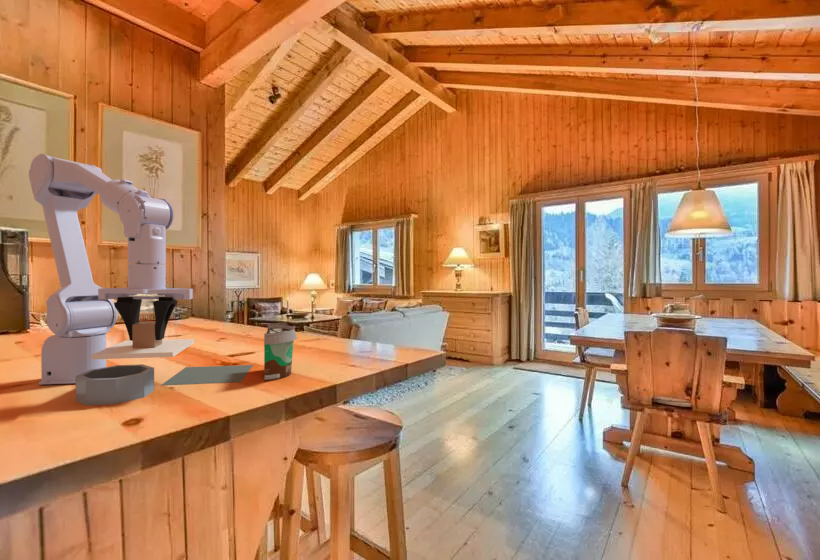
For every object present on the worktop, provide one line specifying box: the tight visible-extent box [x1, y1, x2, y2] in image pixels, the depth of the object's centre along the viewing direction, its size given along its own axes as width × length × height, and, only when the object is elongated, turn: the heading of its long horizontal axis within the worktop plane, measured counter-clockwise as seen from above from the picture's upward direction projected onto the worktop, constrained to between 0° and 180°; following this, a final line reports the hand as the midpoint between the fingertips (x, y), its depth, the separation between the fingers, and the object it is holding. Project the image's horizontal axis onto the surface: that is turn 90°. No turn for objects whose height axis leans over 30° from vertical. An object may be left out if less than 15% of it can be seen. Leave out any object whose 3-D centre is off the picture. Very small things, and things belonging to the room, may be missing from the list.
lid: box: [92, 320, 195, 360], centre depth 73 cm, size 12×12×5 cm
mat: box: [161, 364, 254, 386], centre depth 83 cm, size 14×14×1 cm
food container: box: [263, 324, 298, 382], centre depth 84 cm, size 12×6×10 cm, turn 16°
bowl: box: [75, 363, 155, 407], centre depth 69 cm, size 10×10×4 cm
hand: (147, 339), depth 73 cm, fingers closed on lid, 3 cm apart
